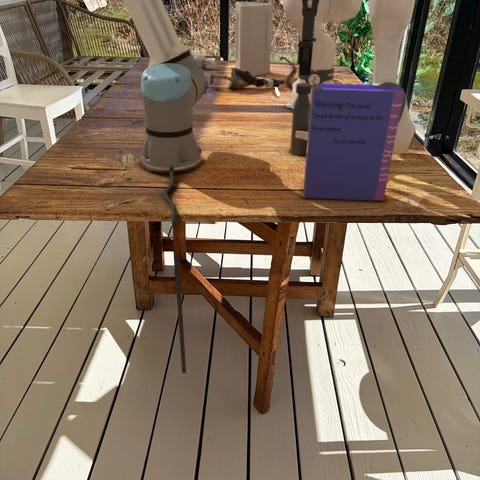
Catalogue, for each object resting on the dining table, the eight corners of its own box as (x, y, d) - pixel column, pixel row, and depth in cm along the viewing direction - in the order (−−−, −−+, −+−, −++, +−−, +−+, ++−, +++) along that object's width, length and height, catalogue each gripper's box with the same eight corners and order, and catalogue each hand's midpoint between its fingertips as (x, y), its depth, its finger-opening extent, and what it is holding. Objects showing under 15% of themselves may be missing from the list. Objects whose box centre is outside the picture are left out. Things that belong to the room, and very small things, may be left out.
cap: (312, 91, 124) (313, 83, 123) (308, 95, 121) (308, 87, 120) (298, 90, 125) (299, 82, 124) (293, 93, 122) (294, 85, 121)
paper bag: (273, 76, 210) (276, 6, 196) (239, 77, 209) (240, 6, 194) (266, 67, 226) (268, 2, 212) (235, 67, 225) (235, 1, 210)
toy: (171, 74, 211) (170, 58, 208) (148, 64, 229) (146, 49, 225) (218, 68, 223) (218, 53, 219) (192, 59, 240) (192, 44, 237)
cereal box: (379, 191, 109) (398, 84, 97) (383, 201, 105) (404, 90, 93) (303, 188, 110) (312, 82, 98) (304, 197, 106) (314, 88, 94)
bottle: (308, 150, 132) (315, 85, 123) (303, 156, 129) (309, 89, 119) (293, 148, 134) (298, 83, 125) (287, 153, 130) (292, 87, 121)
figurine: (210, 87, 179) (288, 95, 182) (212, 65, 176) (291, 73, 180) (208, 84, 201) (278, 91, 205) (210, 64, 198) (280, 71, 202)
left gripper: (299, -35, 117) (292, 64, 129) (294, -33, 101) (287, 79, 113) (330, -35, 116) (320, 65, 128) (330, -33, 100) (319, 81, 112)
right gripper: (351, 111, 133) (302, 108, 135) (349, 135, 116) (293, 130, 118) (348, 133, 136) (300, 129, 139) (346, 159, 119) (291, 154, 121)
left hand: (304, 71), depth 120 cm, fingers open, 6 cm apart
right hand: (296, 130), depth 128 cm, fingers closed on bottle, 5 cm apart
